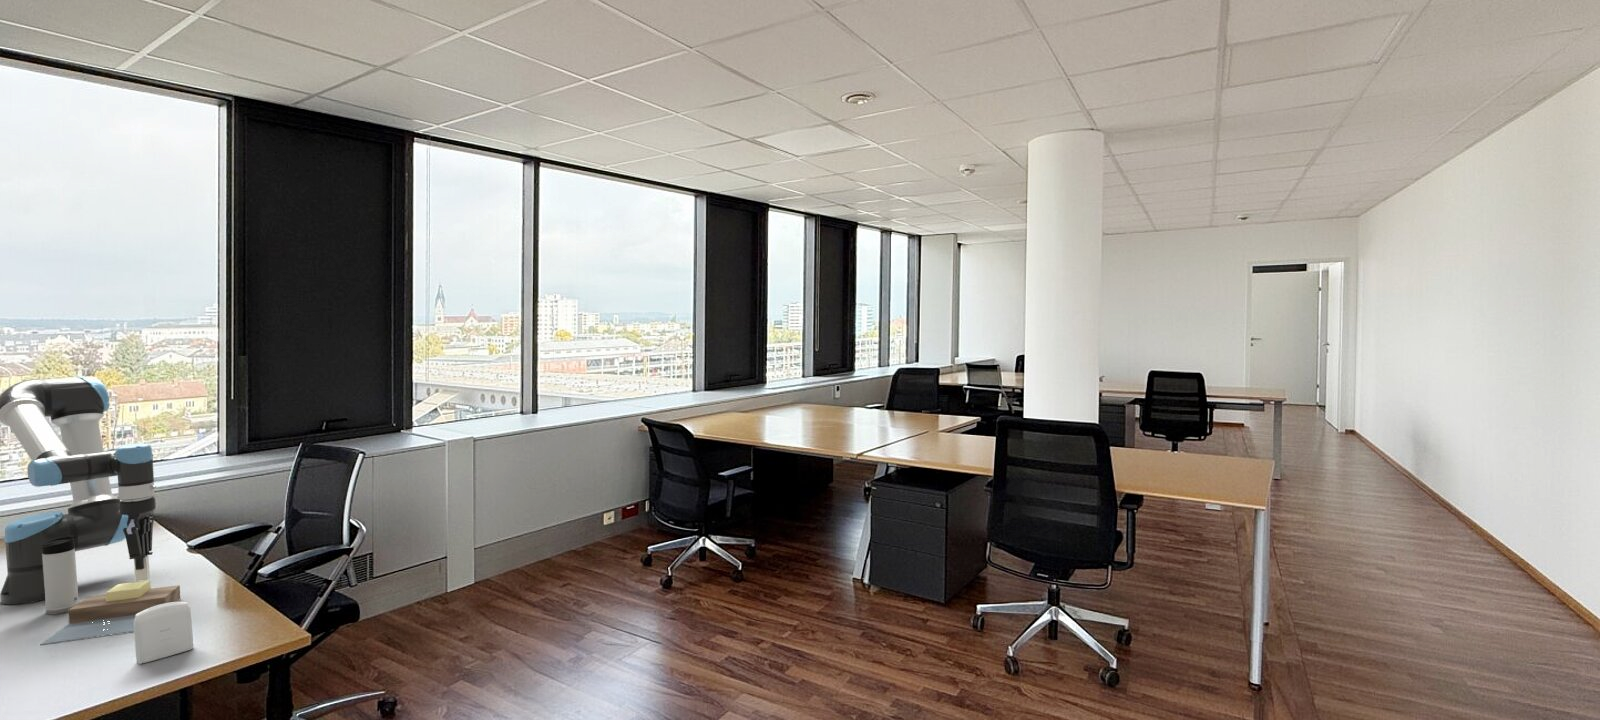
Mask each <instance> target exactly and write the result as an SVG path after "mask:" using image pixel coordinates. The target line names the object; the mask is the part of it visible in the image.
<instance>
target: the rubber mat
mask: <svg viewBox="0 0 1600 720" xmlns="http://www.w3.org/2000/svg"><path fill="white" fill-rule="evenodd" d="M134 619H135V615H130V616H123V617H115V618H108V619H100V620H93V621H86V622H78V623H71V624H69V623H68V624H67V625H65V626H64V627H63V628H61V629H60V630H58V631H57V632H55V633H54V634H53V635H51V636H50V637H48V638H47V639H45V640H44V641H42V642H41V643H40V645H39V646H44V645H45V646H46V645H51V644H59V643H65V641H67V642H71V640H74V641H78V640H77V639H81V640H85V639H84V638H88V639H92V638H91V637H95V638H98V637H97V636H102V635H109V636H111V635H110V634H116V635H120V634H119V633H123V634H127V633H126V632H130V633H134ZM103 620H104V621H103ZM107 621H110V622H107ZM92 622H93V623H92ZM103 622H105V625H103V624H104V623H103ZM108 623H110V624H108ZM103 629H105V630H104V631H103ZM107 629H108V630H107ZM117 633H118V634H117ZM102 637H103V636H102Z"/></svg>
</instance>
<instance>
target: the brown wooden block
mask: <svg viewBox="0 0 1600 720" xmlns="http://www.w3.org/2000/svg"><path fill="white" fill-rule="evenodd" d="M179 599H180V600H181V586H180V585H179V584H177V585H170V586H169V585H168V586H163V587H155V588H151V589H150V590H149V591H147V592H146V593H145V594H143V595H142V596H141V597H139V598H132V599H124V600H116V601H108V602H106V593H105V594H98V595H92V596H91V595H90V596H87V597H85V598H83V600H81V601H80V602H79V601H78V602H79V603H78V604H76V605H75V606H73V607H72V608H70V609H69V610H68V612H67V614H68V624H71V623H78V622H86V621H93V620H100V619H108V618H115V617H123V616H130V615H136V614H137V613H139V612H141V611H143V610H145V609H148V608H150V607H153V606H156V605H160V604H164V603H170V602H179V601H180V600H179ZM178 600H179V601H178Z"/></svg>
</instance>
